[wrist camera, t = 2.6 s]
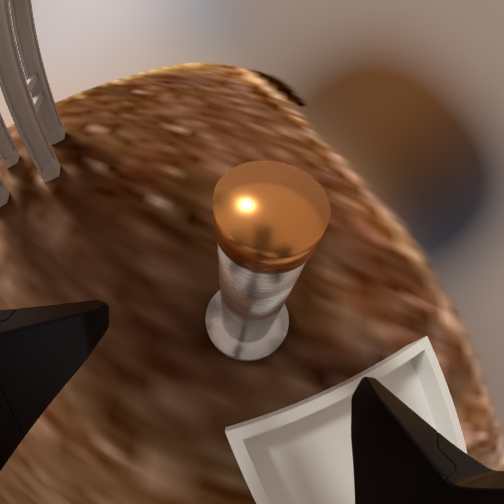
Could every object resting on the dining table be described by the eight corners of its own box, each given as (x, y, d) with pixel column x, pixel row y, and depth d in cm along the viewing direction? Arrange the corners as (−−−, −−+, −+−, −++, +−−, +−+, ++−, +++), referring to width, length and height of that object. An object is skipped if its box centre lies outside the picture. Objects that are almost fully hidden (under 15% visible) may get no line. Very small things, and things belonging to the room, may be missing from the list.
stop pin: (220, 372, 18) (205, 315, 7) (197, 297, 21) (165, 159, 9) (298, 345, 20) (392, 252, 8) (269, 277, 22) (310, 136, 11)
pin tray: (297, 572, 9) (306, 589, 6) (225, 427, 16) (224, 431, 13) (452, 479, 12) (473, 482, 10) (406, 345, 20) (427, 335, 17)
